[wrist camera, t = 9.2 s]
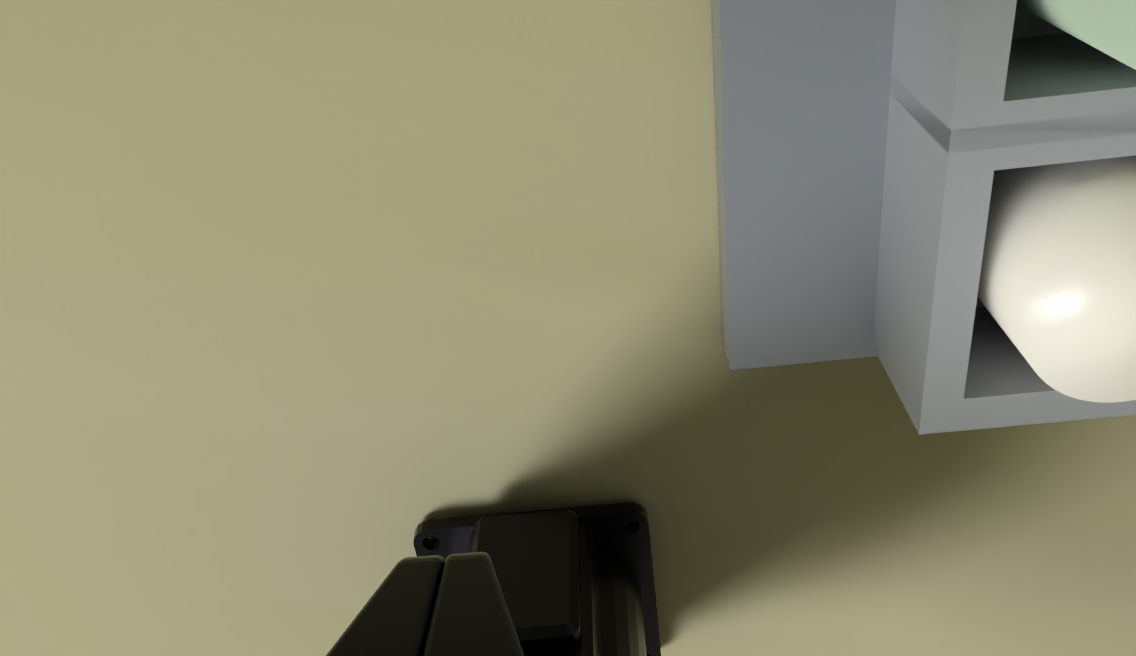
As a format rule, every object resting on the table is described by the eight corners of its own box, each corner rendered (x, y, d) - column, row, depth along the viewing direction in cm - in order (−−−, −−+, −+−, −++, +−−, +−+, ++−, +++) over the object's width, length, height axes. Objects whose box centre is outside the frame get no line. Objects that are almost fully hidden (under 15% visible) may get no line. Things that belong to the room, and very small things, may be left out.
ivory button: (1120, 285, 20) (1233, 391, 17) (934, 303, 20) (1009, 412, 17) (1161, 107, 18) (1298, 188, 15) (953, 130, 18) (1041, 215, 15)
